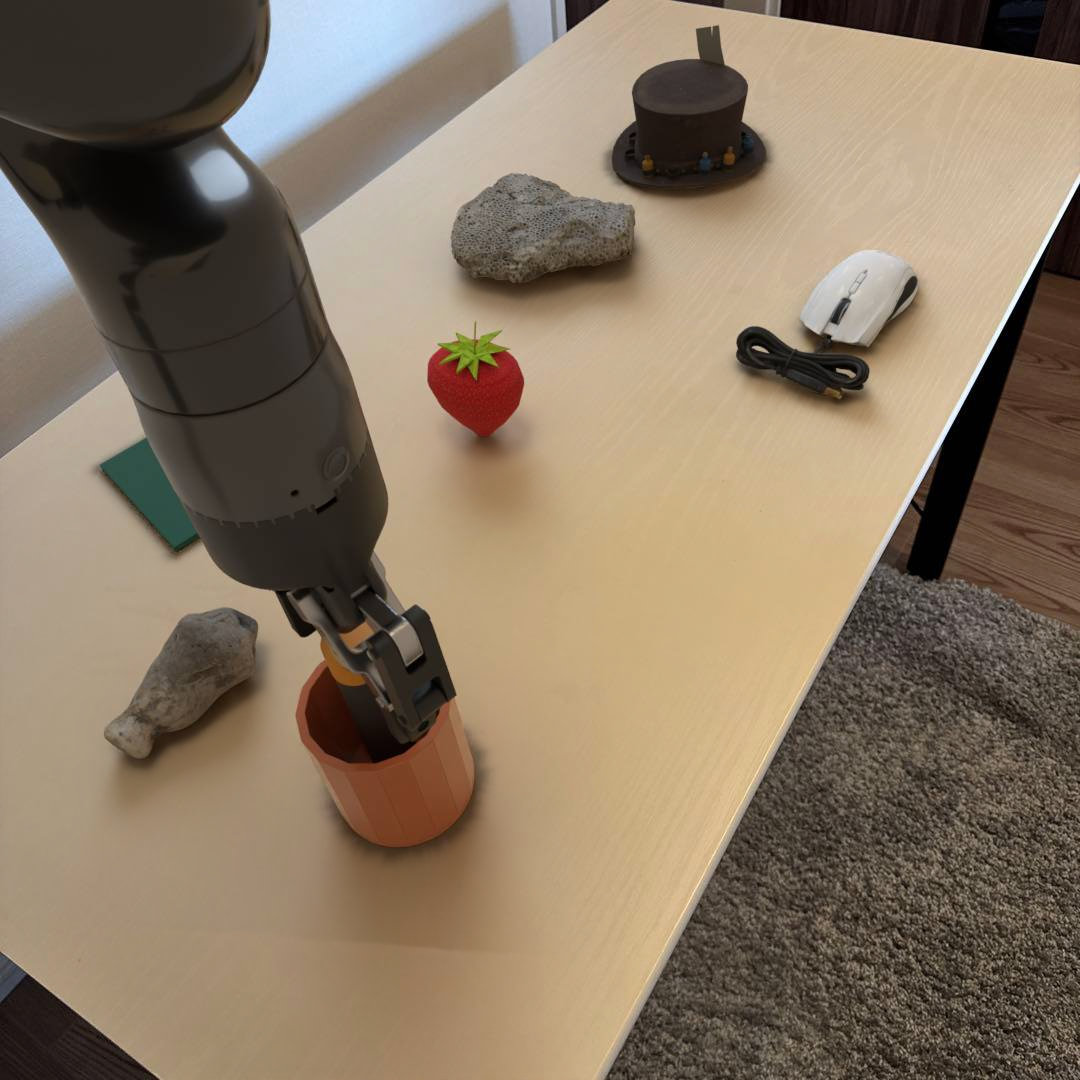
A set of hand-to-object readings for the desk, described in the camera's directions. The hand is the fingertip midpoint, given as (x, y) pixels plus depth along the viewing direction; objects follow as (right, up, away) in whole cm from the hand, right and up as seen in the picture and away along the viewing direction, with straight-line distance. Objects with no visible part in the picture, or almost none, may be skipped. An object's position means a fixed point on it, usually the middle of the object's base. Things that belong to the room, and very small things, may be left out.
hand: (363, 674), depth 50 cm
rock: (+9, +33, +42) cm, 54 cm away
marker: (+1, -7, +8) cm, 11 cm away
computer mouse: (+33, +24, +31) cm, 51 cm away
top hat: (+23, +44, +50) cm, 71 cm away
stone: (-13, -4, +14) cm, 19 cm away
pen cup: (+1, -7, +9) cm, 12 cm away
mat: (-17, +12, +27) cm, 34 cm away
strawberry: (+5, +15, +27) cm, 31 cm away
